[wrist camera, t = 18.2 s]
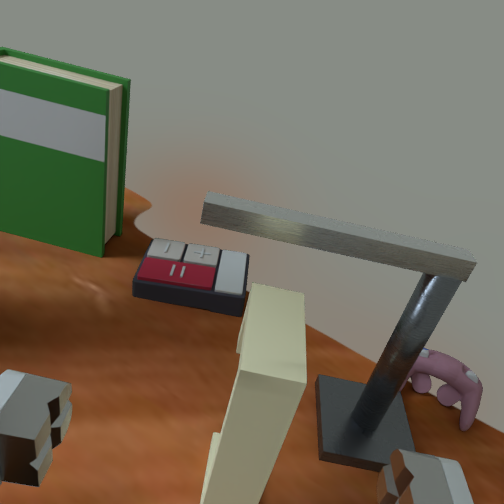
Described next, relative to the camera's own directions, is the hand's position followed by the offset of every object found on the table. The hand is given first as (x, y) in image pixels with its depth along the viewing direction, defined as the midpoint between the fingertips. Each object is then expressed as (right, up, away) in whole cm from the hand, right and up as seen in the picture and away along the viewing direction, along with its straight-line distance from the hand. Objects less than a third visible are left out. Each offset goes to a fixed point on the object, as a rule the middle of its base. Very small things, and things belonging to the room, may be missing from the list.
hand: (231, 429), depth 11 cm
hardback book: (-29, +8, +57) cm, 65 cm away
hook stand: (+5, -13, +38) cm, 40 cm away
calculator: (-8, -1, +54) cm, 54 cm away
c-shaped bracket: (-2, -17, +29) cm, 34 cm away
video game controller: (+22, -14, +44) cm, 51 cm away
